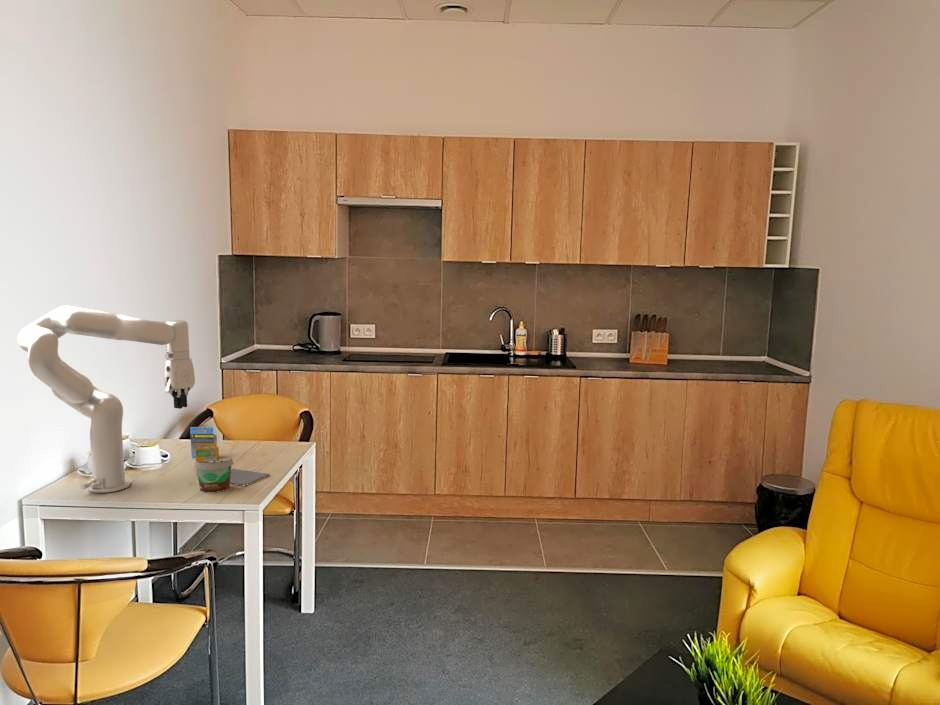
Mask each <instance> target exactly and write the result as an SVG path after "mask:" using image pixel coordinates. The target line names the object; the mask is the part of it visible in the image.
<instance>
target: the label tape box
mask: <svg viewBox="0 0 940 705" xmlns="http://www.w3.org/2000/svg"><path fill="white" fill-rule="evenodd" d="M201 430H202V431H201ZM189 435H190V447H191V459H192V458H196V451H195V449H196V448H195V444H203V443H216V447H218V438H217V437H218V436H217V435H216V434H214V428H213V427H199V426H192V427H191V426H190V434H189ZM201 447H210V445H202V446H201Z"/></svg>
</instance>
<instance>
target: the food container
mask: <svg viewBox="0 0 940 705" xmlns="http://www.w3.org/2000/svg"><path fill="white" fill-rule="evenodd" d="M232 465H234V460H233V457H230V458H229V459H226V460H220V459H219V460H212V461H207V462H197V461H196V460H195V461H194V464H193V467H194V469H195V470H196V469H197V474H198V476H197V478H198V479H197V480H198V486H199V491H201V492H202V491H204V492H203V493H207V492H215V493H218V492H217V491H221V492H224V491H227V490H229V489H230V487H231V484H230V477H231V469H232ZM197 474H196V475H197ZM228 488H229V489H228ZM226 489H227V490H226ZM223 490H224V491H223Z"/></svg>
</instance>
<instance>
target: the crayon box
mask: <svg viewBox="0 0 940 705" xmlns="http://www.w3.org/2000/svg"><path fill="white" fill-rule="evenodd" d="M202 445H210V447H201V446H202ZM195 448H196V449H195V451H196V459H195V462H196V461H197V462H207V461H212V460H220V452H219V451H220V450H219V448H220V447H219V446H217V447H216V443H203V444H195ZM195 470H196V471H195V472H196V476H197V477H198V474H197V469H196V468H195Z"/></svg>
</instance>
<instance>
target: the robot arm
mask: <svg viewBox="0 0 940 705" xmlns="http://www.w3.org/2000/svg"><path fill="white" fill-rule="evenodd" d="M188 323H189V322H188V321H186V320H183V319H175V320H173V319H172V320H168V321H167V320H166V321H162V320H161V321H159V320H158V321H157V320H146V319H143V318H136V317H132V316H127V315H124V314H120V313H115V312H107V311H101V310H95V309H91V308H90V309H89V308H83V307H78V306H77V307H76V306H71V305H62V306H58V307H57V308H55V309H53V310H51V311H49V312H48V313H46V314H44V315H43V316H41V317H40V318H38V319H36V320H34V321H33V322H31V323H29V324H28V325H26V326H25V327H24V328H22V329H21V330H20V332H19V333H18V335H17V343H18V345H19V347H20V348H21V350H24V351H25V352H28V353H27V359H28V360H27V361H28V365H29V366H28V367H29V368H30V371H31V373H32V374H33V375H34V376H35V377H36V379H38V380H40V381H41V382H42V383H44V384H45V385H46V386H48V387H49V388H51V391H52V393H53V395H54V396H55V397H56V398H58V400H60V401H62V402H63V403H65V404H66V405H68V406H69V407H71V408H72V409H74V410H75V411H76V412H78V413H79V414H81V415H83V416H84V417H87V418H89V419H90V422H91V423H90V427H89V428H90V429H89V441H90V442H89V444H90V456H91V468H92V469H91V471H92V476H90V477H89V480H88V481H85V482H82V483H80V485H79V486H80V489H82V490H85V489H88V491H89V492H91V493H97V494H98V493H99V494H101V493H103V494H104V493H107V494H108V493H115V492H117V491H118V490H119V491H122V490H125V489H127V488H128V487H130V486H131V480H130V479H128V478H126V474H125V459H124V458H125V457H124V440H123V417H124V407H123V404H122V402H121V400H120V399H119V398H118V397H117V396H116V395H115V394H112V393H109V392H106V391H103V390H100V389H98V387H96V386H94V385H93V383H92V381H91V379H89V378H88V377H87V376H86V375H83V374H82V373H80V372H79V371H78V370H76V369H74V367H71V366H70V365H69V364H67V363H66V362H65V360H63V359H61V358H60V355H59V352H58V351H59V350H58V349H59V339H60V338H61V337H63V336H65V335H66V334H67V333H68V334H71V335H78V336H85V337H93V338H101V339H109V340H115V341H125V342H126V341H128V342H138V343H142V344H143V343H144V344H145V343H146V344H150V345H157V346H158V345H159V346H165V352H166V353H165V356H164V357H165V358H166V360H165V365H164V385H165V393H167V394H170V395H171V397H172V398H173V408H175V409H180V410H181V409H183V408H188V396H189V392H190V390H192V388H193V387H194V386H195V384H196V377H195V369H194V364H193V360H192V358H190V355H191V354H190V341H189V324H188ZM124 488H125V489H124ZM121 489H122V490H121ZM119 491H118V492H119Z"/></svg>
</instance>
